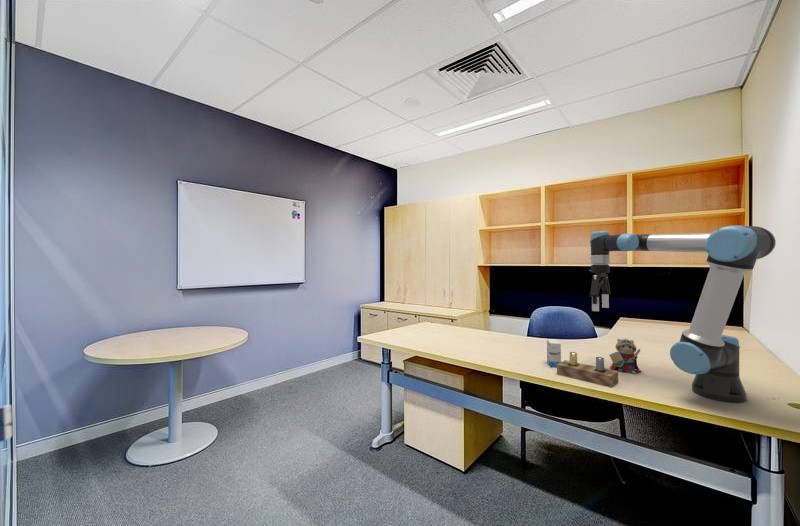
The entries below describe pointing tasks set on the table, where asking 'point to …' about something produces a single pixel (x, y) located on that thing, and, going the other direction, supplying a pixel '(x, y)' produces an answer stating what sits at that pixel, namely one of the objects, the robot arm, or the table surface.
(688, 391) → the table surface
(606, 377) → the hole block
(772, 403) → the table surface
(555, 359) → the ink box
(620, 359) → the figurine
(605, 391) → the table surface
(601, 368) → the steel peg
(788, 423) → the table surface
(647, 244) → the robot arm
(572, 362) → the brass peg
